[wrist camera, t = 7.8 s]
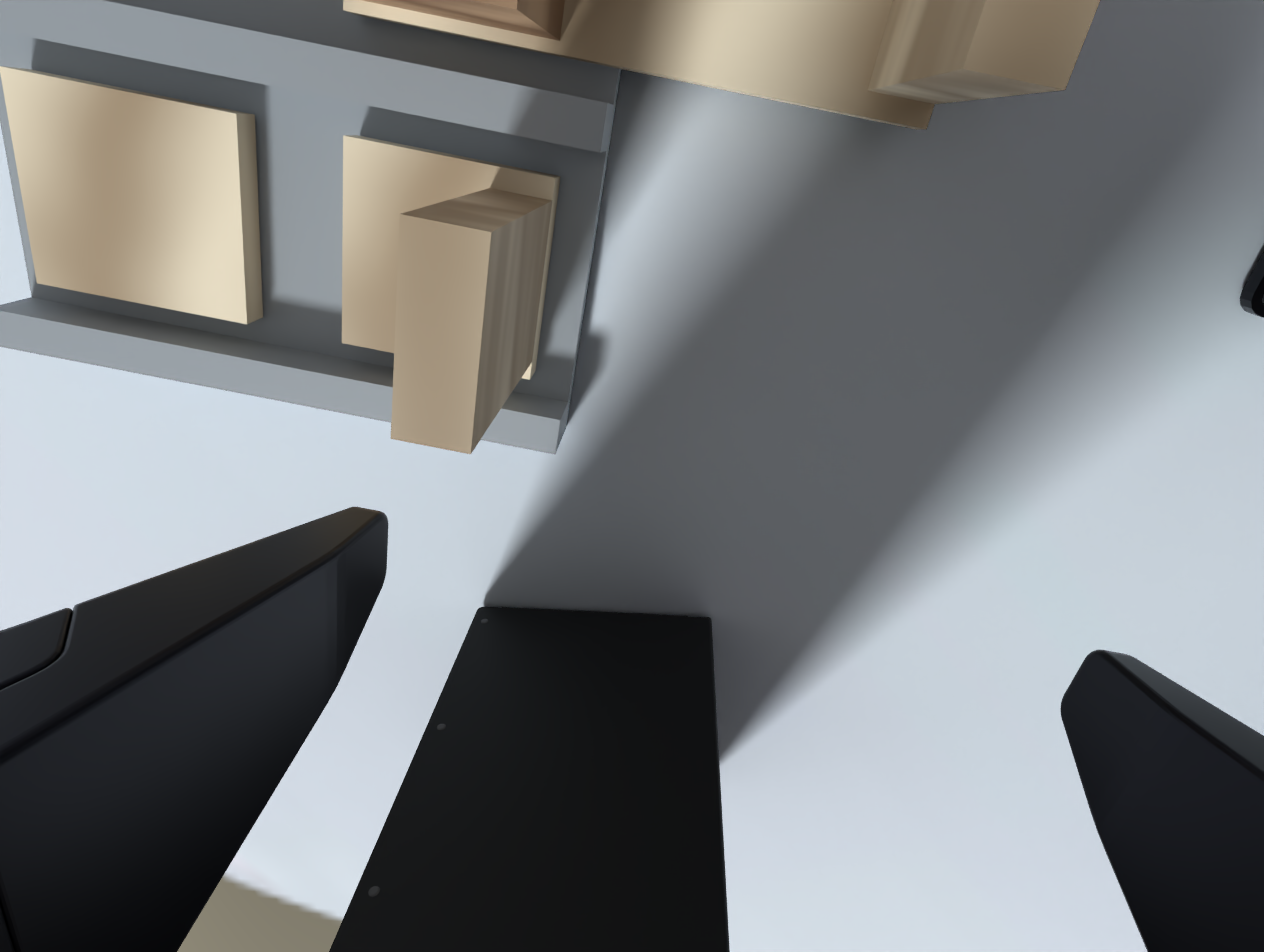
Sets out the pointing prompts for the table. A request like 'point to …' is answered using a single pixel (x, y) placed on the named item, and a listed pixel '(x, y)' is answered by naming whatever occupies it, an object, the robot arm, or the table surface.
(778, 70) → the tan piece
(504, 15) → the cube
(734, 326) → the table surface
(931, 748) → the table surface
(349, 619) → the robot arm
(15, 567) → the table surface
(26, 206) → the strip broken
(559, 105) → the lane board
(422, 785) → the black rectangular block
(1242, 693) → the table surface
